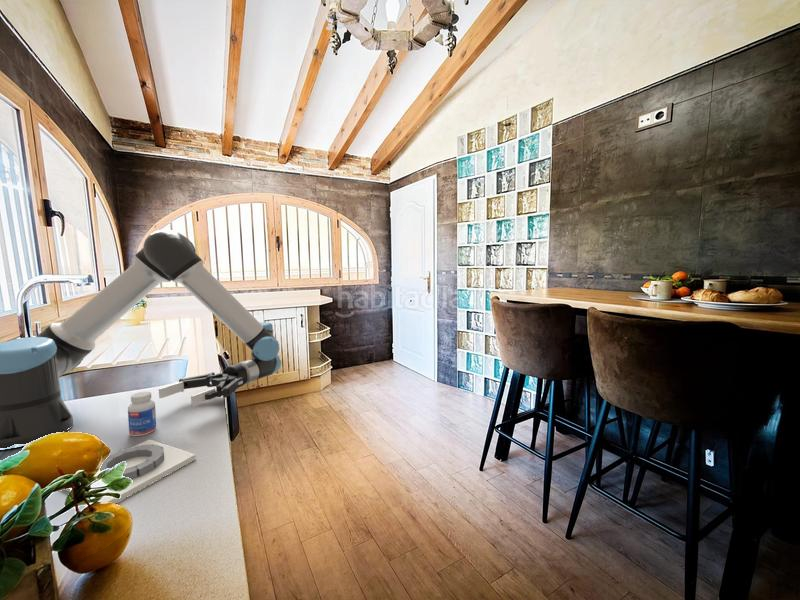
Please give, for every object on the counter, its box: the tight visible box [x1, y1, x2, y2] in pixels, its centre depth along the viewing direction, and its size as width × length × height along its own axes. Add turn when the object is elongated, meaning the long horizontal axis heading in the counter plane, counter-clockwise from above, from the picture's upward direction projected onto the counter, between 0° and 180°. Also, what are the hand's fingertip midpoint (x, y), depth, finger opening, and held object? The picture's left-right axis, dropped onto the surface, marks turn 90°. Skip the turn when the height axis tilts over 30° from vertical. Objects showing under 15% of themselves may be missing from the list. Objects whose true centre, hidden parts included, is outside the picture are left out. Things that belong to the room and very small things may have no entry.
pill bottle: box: [127, 391, 157, 437], centre depth 82 cm, size 6×5×10 cm
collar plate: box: [65, 439, 197, 504], centre depth 66 cm, size 16×16×3 cm
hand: (175, 397), depth 89 cm, fingers open, 13 cm apart
